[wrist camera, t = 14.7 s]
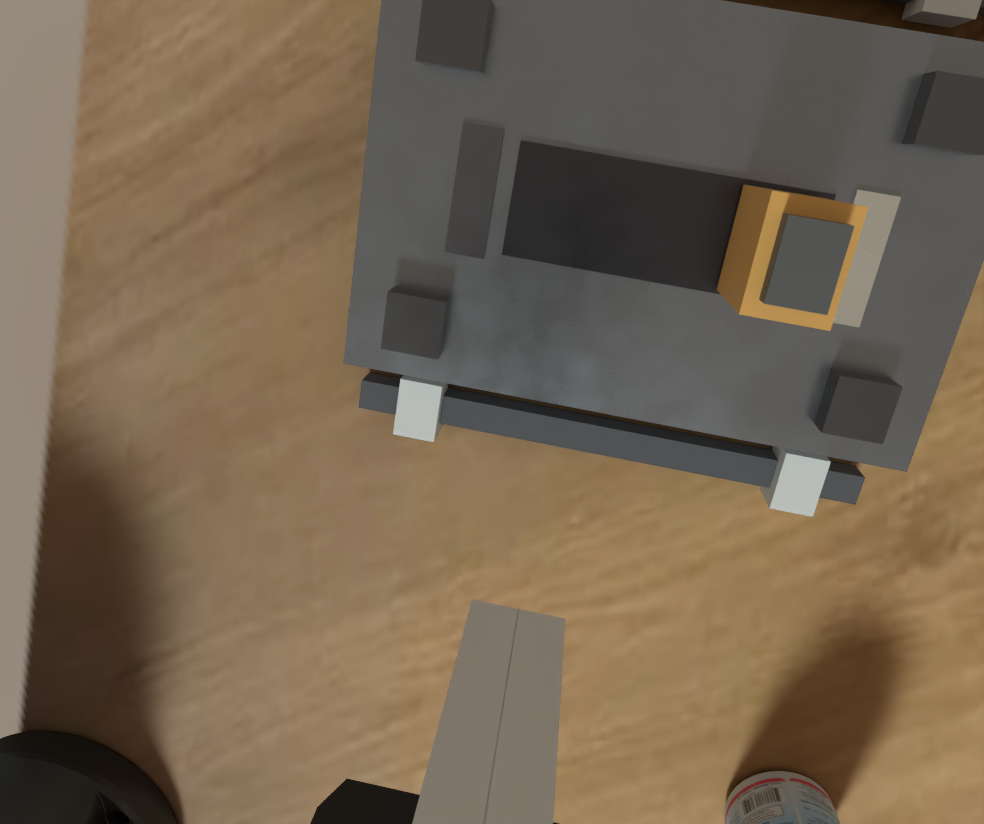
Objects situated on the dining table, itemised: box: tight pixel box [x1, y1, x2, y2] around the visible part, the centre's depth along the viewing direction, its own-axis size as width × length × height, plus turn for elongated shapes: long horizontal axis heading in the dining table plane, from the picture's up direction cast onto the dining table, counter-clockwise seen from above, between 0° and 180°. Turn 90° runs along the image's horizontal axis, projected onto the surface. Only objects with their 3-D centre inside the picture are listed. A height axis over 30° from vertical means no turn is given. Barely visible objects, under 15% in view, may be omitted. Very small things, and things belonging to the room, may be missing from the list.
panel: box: [344, 0, 984, 472], centre depth 33 cm, size 24×16×6 cm, turn 81°
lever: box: [717, 184, 869, 331], centre depth 28 cm, size 3×4×6 cm
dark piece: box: [359, 0, 984, 517], centre depth 34 cm, size 24×26×2 cm
